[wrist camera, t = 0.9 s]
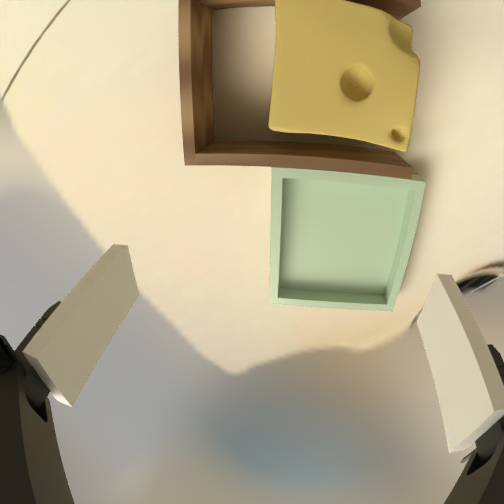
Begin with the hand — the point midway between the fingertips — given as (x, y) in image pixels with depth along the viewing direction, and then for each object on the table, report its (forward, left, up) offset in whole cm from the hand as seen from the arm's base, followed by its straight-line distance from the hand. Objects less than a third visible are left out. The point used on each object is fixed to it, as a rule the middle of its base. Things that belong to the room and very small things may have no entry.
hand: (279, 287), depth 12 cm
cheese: (-9, +4, -21) cm, 23 cm away
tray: (+8, +6, -20) cm, 22 cm away
